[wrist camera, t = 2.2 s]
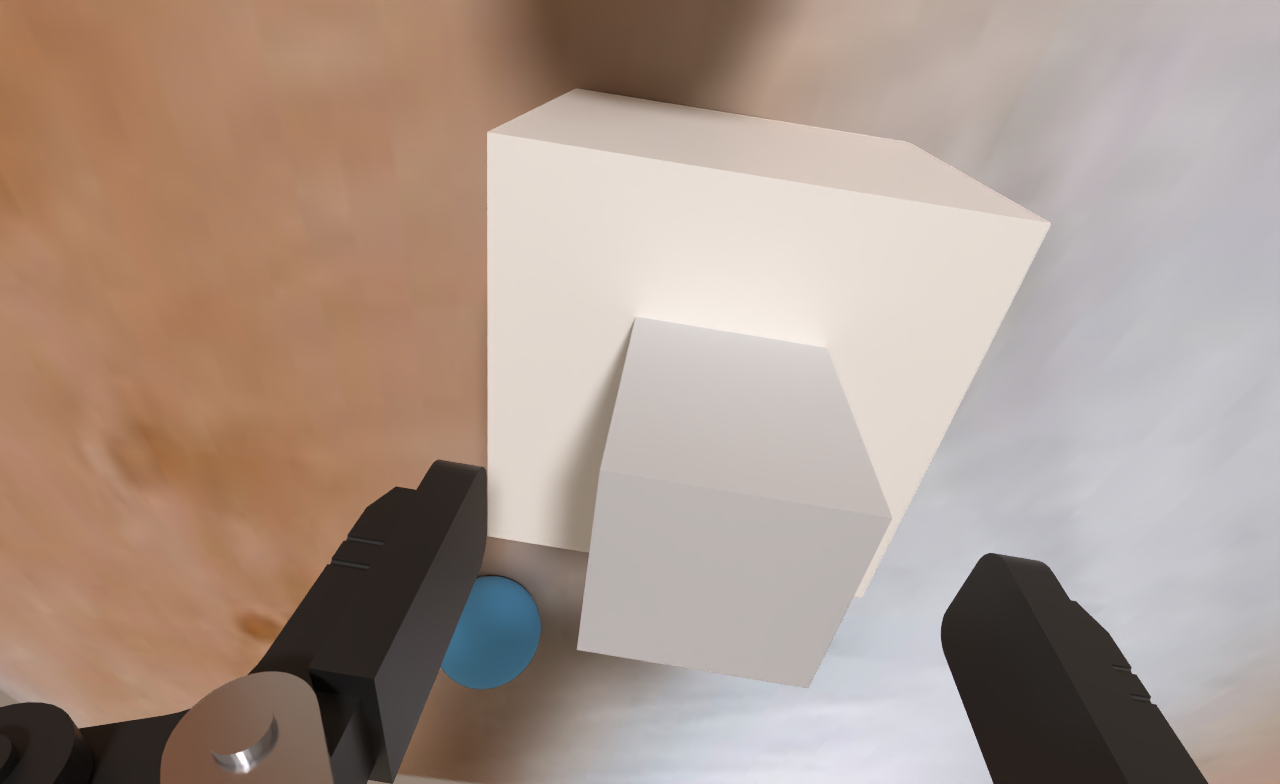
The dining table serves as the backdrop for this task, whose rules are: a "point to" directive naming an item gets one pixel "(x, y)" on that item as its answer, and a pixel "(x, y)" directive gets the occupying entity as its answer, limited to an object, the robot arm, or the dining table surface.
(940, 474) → the dining table surface
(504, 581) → the blue ball
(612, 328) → the white block with stub
